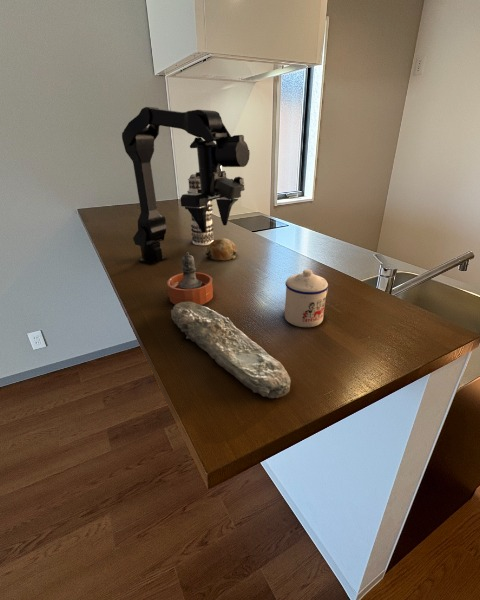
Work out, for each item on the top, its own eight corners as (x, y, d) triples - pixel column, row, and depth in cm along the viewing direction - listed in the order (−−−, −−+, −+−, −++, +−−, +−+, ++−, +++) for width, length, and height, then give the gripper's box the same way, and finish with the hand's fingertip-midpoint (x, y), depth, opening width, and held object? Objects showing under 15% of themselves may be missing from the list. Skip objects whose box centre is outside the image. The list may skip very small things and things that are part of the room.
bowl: (160, 301, 81) (157, 283, 78) (189, 285, 89) (187, 269, 87) (194, 313, 75) (192, 294, 73) (221, 294, 84) (220, 277, 81)
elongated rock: (259, 420, 48) (303, 393, 54) (262, 394, 46) (308, 369, 52) (159, 317, 72) (197, 306, 78) (157, 297, 70) (197, 287, 75)
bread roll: (227, 271, 107) (237, 251, 103) (200, 257, 107) (208, 237, 103) (233, 261, 116) (242, 242, 112) (208, 248, 115) (216, 229, 111)
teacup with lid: (305, 333, 67) (310, 283, 62) (275, 316, 73) (277, 269, 68) (339, 315, 74) (347, 268, 68) (309, 301, 80) (313, 257, 75)
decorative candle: (186, 242, 125) (180, 174, 114) (203, 237, 131) (199, 172, 120) (202, 247, 120) (197, 176, 108) (219, 241, 126) (216, 174, 114)
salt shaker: (175, 299, 81) (170, 254, 75) (187, 289, 85) (183, 246, 80) (195, 303, 79) (191, 256, 73) (206, 293, 83) (203, 249, 78)
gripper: (211, 170, 70) (217, 240, 76) (256, 164, 83) (257, 224, 90) (175, 170, 75) (183, 235, 82) (222, 165, 89) (226, 221, 96)
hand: (214, 228), depth 87 cm, fingers open, 9 cm apart
